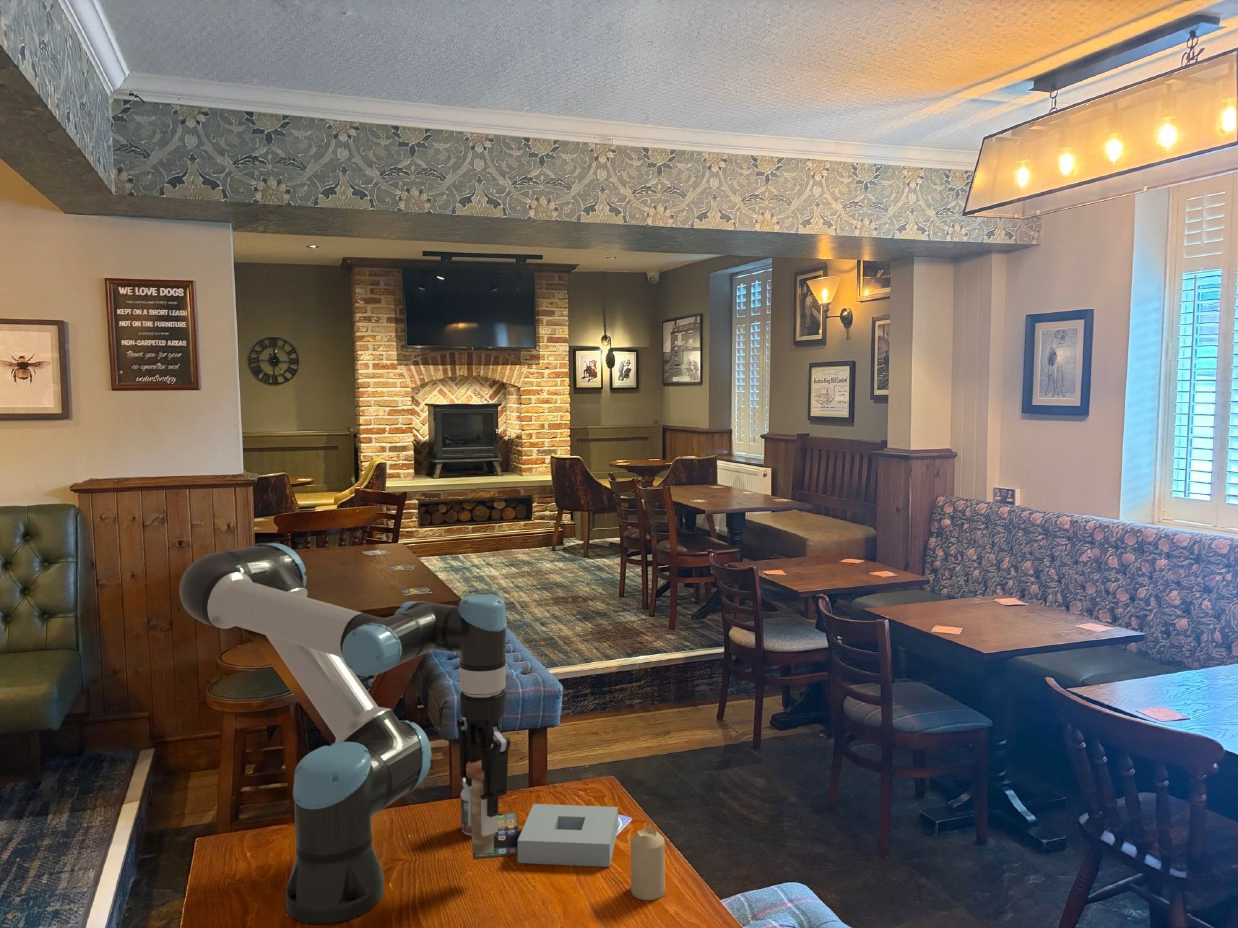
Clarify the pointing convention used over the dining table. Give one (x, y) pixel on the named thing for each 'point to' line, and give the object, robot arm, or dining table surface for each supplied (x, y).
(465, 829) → the pill bottle
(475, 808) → the peg
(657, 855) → the candle
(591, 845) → the block
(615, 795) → the dining table surface
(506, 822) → the smartphone
